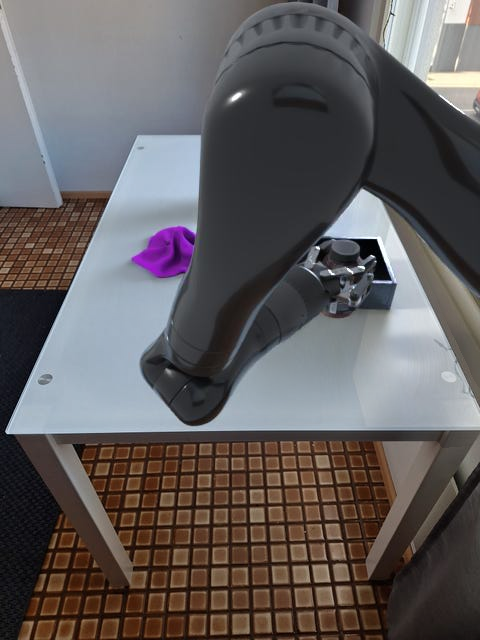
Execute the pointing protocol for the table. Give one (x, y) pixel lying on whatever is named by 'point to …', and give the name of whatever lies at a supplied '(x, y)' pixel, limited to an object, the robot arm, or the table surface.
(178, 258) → the cloth
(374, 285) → the dark open box
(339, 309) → the supplement bottle
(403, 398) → the table surface
